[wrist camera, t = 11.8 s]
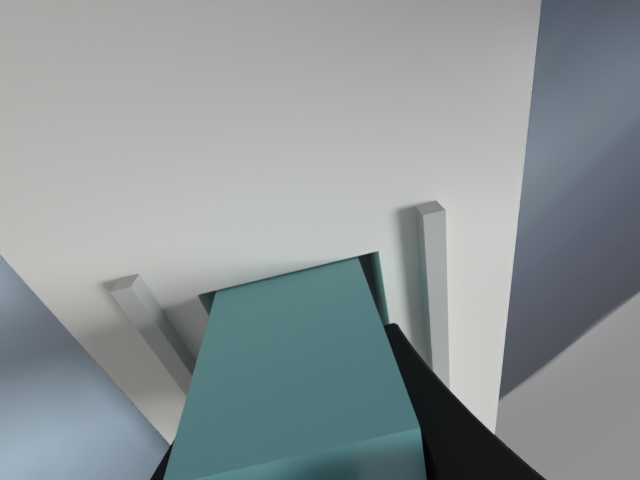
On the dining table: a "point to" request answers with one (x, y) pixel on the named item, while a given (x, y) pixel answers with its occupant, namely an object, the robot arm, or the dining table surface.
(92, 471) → the dining table surface
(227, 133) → the socket plate
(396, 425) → the plug
